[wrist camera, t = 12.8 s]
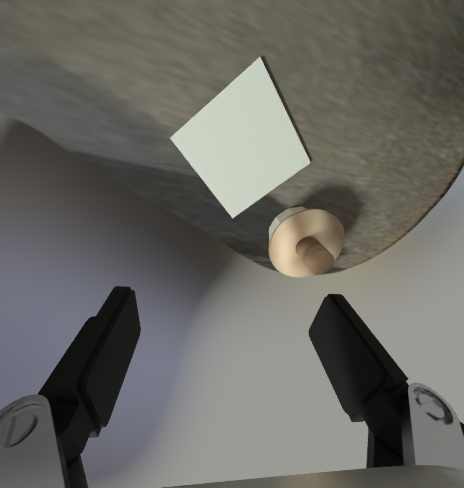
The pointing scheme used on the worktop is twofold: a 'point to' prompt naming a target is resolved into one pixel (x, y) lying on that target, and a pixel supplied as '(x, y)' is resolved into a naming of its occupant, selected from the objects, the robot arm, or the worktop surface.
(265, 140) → the mat
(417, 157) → the worktop surface
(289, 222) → the lid
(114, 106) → the worktop surface
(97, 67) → the worktop surface
